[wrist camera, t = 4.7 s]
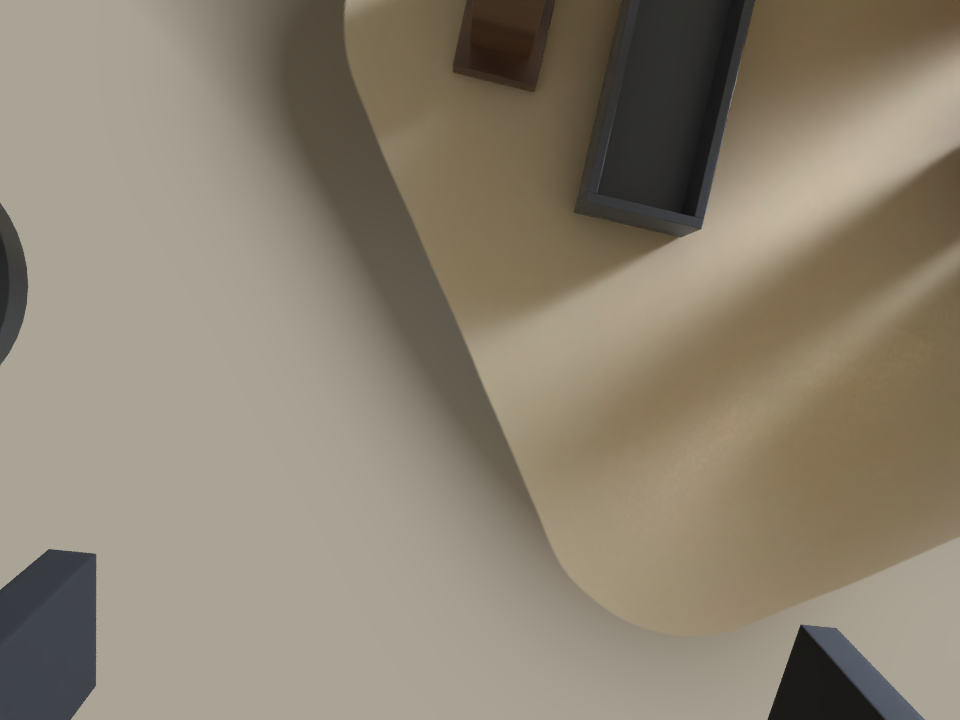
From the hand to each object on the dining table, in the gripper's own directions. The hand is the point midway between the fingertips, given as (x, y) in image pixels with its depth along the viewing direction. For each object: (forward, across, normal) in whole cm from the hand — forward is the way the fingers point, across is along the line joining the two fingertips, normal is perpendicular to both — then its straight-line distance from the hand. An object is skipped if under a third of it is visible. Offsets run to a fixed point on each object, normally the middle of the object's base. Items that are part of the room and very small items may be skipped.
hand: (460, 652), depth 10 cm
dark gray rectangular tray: (+42, +15, +22) cm, 50 cm away
